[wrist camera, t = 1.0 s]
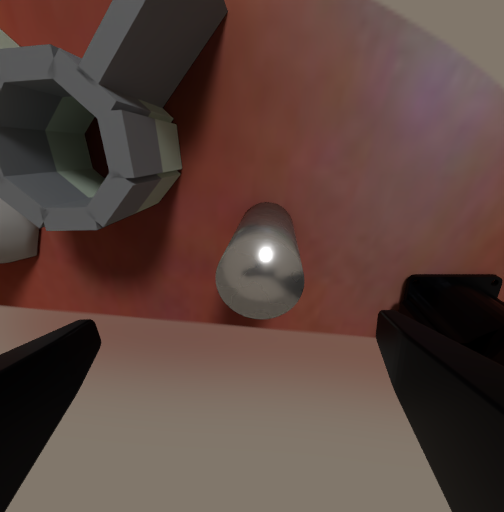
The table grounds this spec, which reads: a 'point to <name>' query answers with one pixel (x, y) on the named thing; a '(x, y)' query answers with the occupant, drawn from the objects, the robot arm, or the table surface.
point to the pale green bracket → (76, 150)
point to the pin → (261, 264)
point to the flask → (16, 235)
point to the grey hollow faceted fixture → (98, 108)
